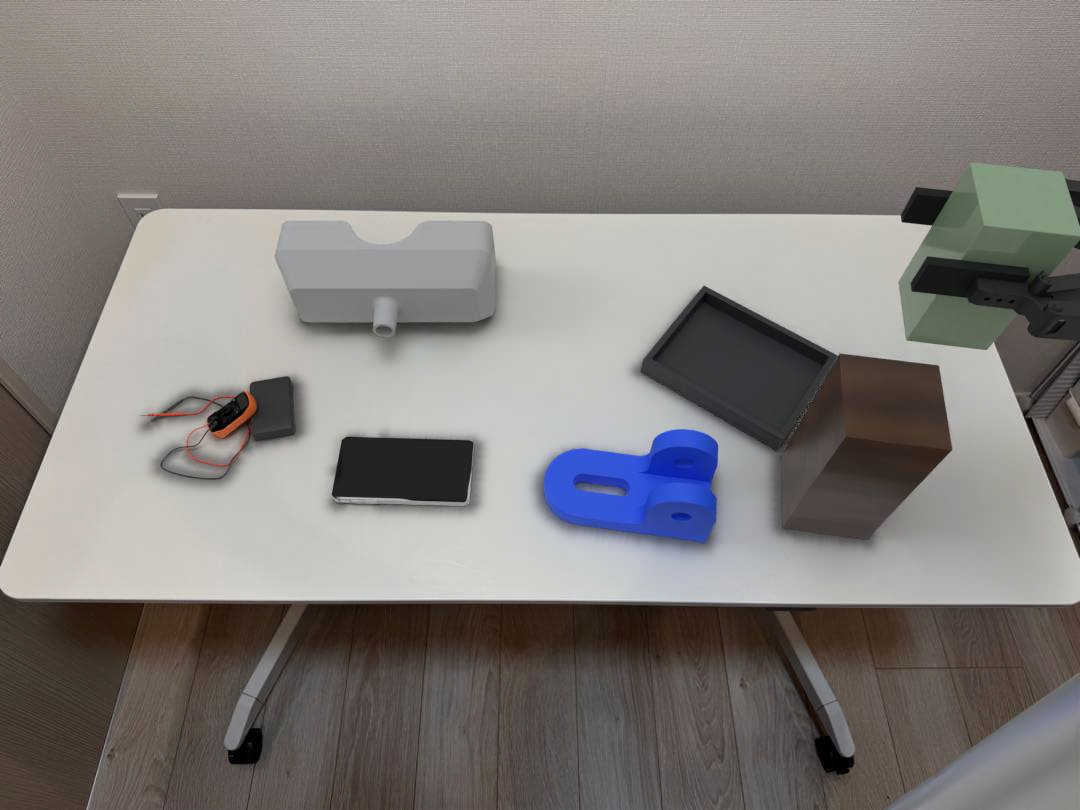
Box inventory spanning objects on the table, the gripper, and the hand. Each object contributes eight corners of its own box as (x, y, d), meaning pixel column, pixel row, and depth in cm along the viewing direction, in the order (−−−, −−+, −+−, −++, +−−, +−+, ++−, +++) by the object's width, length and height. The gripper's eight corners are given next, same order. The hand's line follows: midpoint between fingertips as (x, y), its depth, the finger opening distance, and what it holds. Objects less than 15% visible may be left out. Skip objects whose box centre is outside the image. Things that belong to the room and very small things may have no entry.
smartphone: (468, 503, 83) (330, 499, 83) (469, 508, 84) (332, 504, 84) (473, 439, 87) (342, 435, 87) (474, 444, 88) (344, 440, 88)
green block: (986, 350, 58) (1083, 236, 48) (905, 340, 58) (984, 225, 48) (974, 290, 61) (1063, 171, 51) (897, 281, 61) (970, 161, 51)
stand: (866, 540, 82) (952, 450, 65) (782, 528, 83) (845, 436, 66) (860, 466, 87) (939, 364, 70) (780, 456, 88) (839, 353, 71)
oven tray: (776, 451, 88) (783, 440, 86) (640, 371, 94) (642, 359, 92) (831, 367, 94) (838, 355, 92) (700, 298, 100) (703, 285, 98)
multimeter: (130, 489, 85) (115, 475, 82) (144, 399, 91) (132, 383, 88) (294, 470, 86) (286, 455, 83) (298, 382, 93) (290, 366, 90)
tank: (290, 362, 94) (260, 295, 84) (310, 264, 103) (285, 193, 92) (493, 361, 94) (488, 295, 84) (496, 264, 103) (492, 193, 92)
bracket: (707, 474, 86) (724, 434, 79) (705, 542, 82) (722, 507, 74) (549, 452, 88) (551, 411, 80) (539, 519, 83) (539, 482, 76)
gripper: (1267, 424, 50) (905, 379, 52) (1181, 219, 60) (881, 187, 62) (1374, 357, 44) (957, 308, 45) (1258, 140, 54) (921, 106, 55)
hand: (914, 238), depth 54 cm, fingers closed on green block, 6 cm apart
